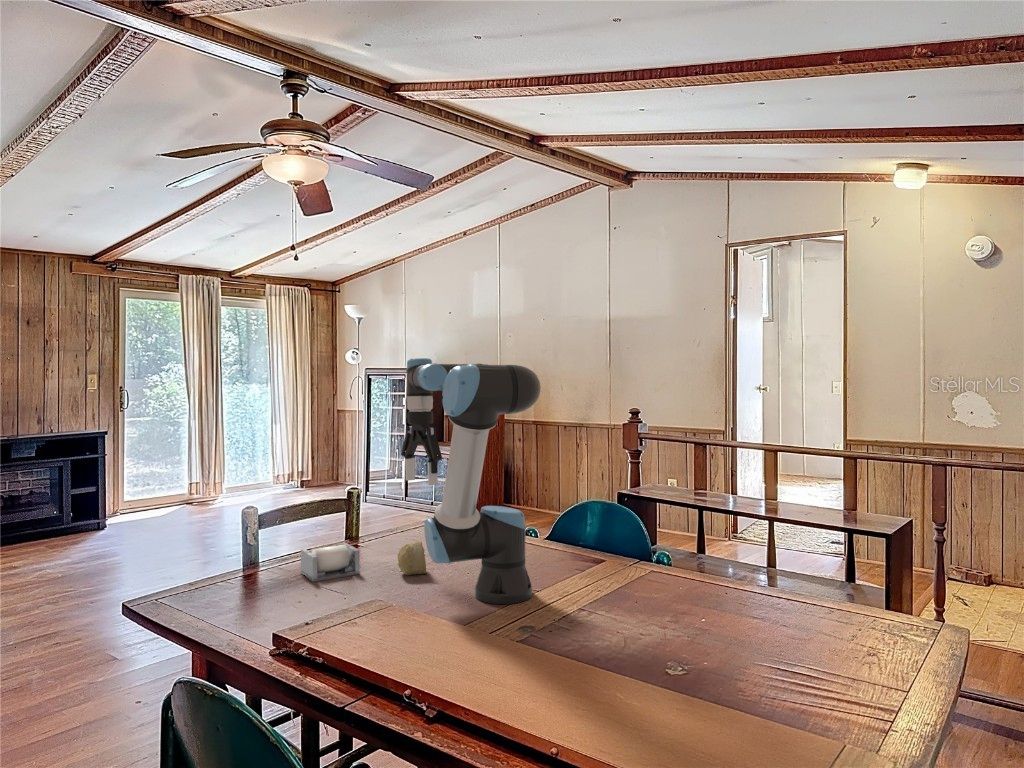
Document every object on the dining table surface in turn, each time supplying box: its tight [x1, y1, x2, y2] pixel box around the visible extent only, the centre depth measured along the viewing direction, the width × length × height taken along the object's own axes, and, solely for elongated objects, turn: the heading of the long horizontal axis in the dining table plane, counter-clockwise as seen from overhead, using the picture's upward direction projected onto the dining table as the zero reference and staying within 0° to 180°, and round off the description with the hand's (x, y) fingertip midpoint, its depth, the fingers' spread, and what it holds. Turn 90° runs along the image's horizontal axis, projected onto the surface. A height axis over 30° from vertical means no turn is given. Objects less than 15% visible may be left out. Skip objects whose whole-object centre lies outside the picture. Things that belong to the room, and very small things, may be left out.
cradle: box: [300, 542, 361, 583], centre depth 208 cm, size 14×11×7 cm
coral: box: [397, 540, 428, 576], centre depth 207 cm, size 10×10×10 cm
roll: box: [311, 544, 349, 572], centre depth 208 cm, size 9×7×7 cm
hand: (421, 482), depth 209 cm, fingers open, 13 cm apart
